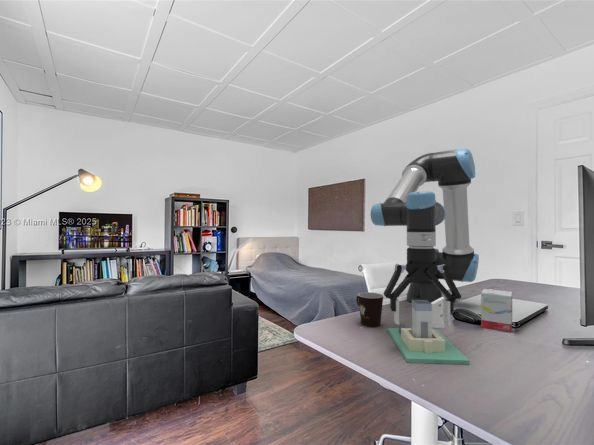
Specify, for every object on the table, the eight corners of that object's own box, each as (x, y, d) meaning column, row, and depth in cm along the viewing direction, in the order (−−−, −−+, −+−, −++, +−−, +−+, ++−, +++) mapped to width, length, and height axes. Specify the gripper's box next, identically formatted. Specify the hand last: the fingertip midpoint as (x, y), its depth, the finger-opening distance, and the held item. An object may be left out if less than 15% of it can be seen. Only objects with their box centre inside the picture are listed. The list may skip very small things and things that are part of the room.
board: (387, 331, 97) (387, 318, 97) (435, 332, 95) (435, 319, 95) (407, 362, 75) (406, 346, 75) (469, 364, 73) (469, 348, 73)
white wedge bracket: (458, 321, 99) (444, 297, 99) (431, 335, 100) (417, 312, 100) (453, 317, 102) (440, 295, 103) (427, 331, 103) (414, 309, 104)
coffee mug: (386, 328, 99) (386, 298, 99) (360, 328, 99) (360, 298, 99) (377, 317, 111) (377, 290, 111) (354, 317, 111) (354, 290, 111)
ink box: (512, 332, 94) (511, 295, 94) (480, 327, 100) (480, 291, 100) (512, 325, 101) (512, 290, 101) (483, 320, 106) (482, 287, 107)
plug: (412, 341, 85) (411, 299, 85) (426, 342, 85) (426, 299, 85) (417, 348, 81) (416, 304, 81) (432, 348, 80) (432, 304, 80)
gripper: (378, 248, 81) (378, 326, 80) (474, 248, 78) (475, 329, 78) (373, 246, 88) (373, 318, 88) (461, 246, 86) (461, 319, 86)
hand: (421, 323), depth 83 cm, fingers open, 13 cm apart
